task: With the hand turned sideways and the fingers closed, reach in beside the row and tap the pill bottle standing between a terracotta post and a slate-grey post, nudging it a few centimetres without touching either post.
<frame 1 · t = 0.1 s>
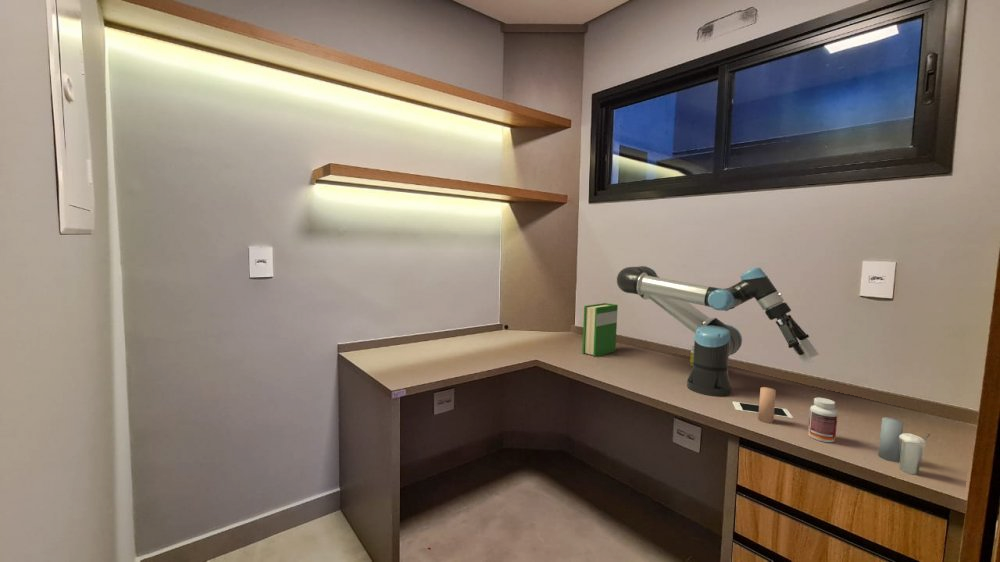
hand: (812, 359, 143), 15 cm above the table, tool tilted 35°, fingers open, 13 cm apart
milkshake: (910, 472, 100), on the table
pill bottle: (821, 438, 116), on the table
slate post: (888, 457, 106), on the table
terracotta post: (765, 420, 128), on the table
cell phone: (761, 411, 136), on the table
hardback book: (599, 353, 205), on the table
supplement bottle: (695, 365, 187), on the table
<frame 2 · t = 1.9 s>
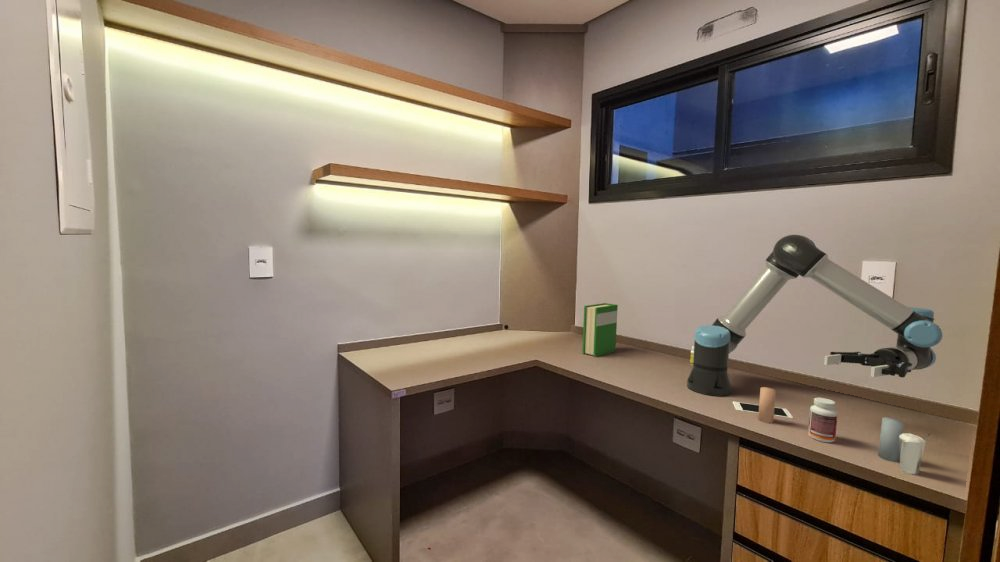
hand: (848, 366, 118), 20 cm above the table, tool horizontal, fingers open, 11 cm apart
nothing on the table moved.
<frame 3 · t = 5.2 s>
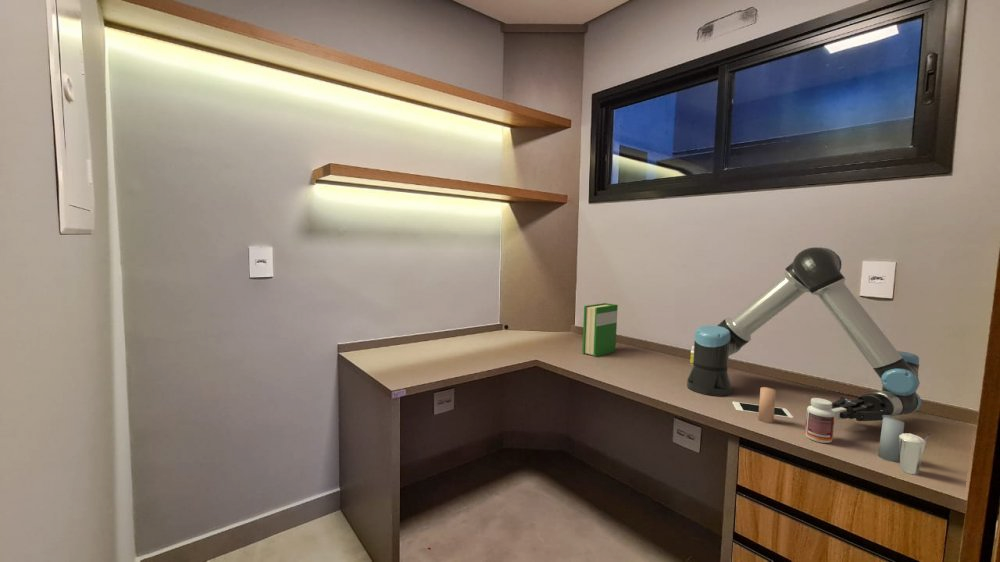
hand: (829, 415, 116), 7 cm above the table, tool horizontal, fingers closed
pill bottle: (818, 439, 116), on the table, touching gripper
everything else where it was.
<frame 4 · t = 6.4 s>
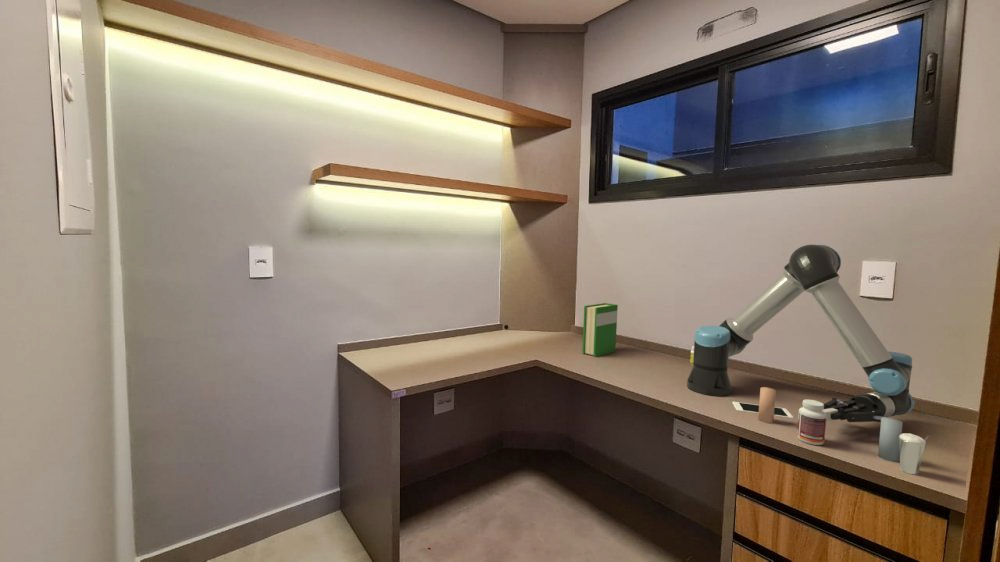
hand: (819, 416, 115), 7 cm above the table, tool horizontal, fingers closed
pill bottle: (809, 441, 115), on the table, touching gripper
everything else where it was.
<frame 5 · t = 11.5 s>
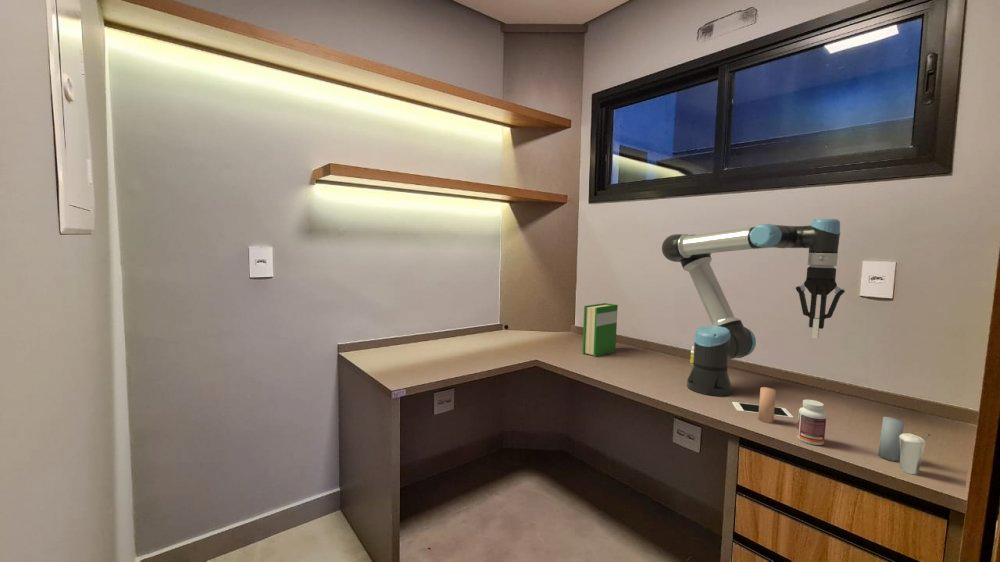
hand: (815, 337, 136), 24 cm above the table, tool pointing down, fingers closed
pill bottle: (809, 441, 115), on the table
everything else where it was.
at the end: pill bottle moved 4.8 cm from its start; pill bottle tilted 0°; slate post moved 0.1 cm from its start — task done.
